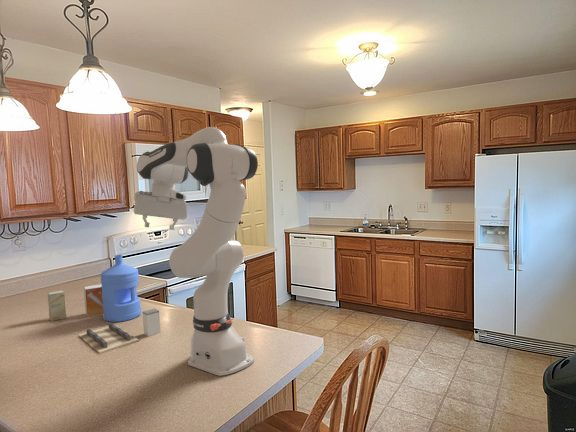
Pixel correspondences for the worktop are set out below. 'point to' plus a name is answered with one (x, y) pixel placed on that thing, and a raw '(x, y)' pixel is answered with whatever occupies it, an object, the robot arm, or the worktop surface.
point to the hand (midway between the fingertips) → (159, 228)
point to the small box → (93, 300)
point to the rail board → (108, 338)
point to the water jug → (120, 292)
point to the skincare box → (56, 305)
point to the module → (151, 322)
